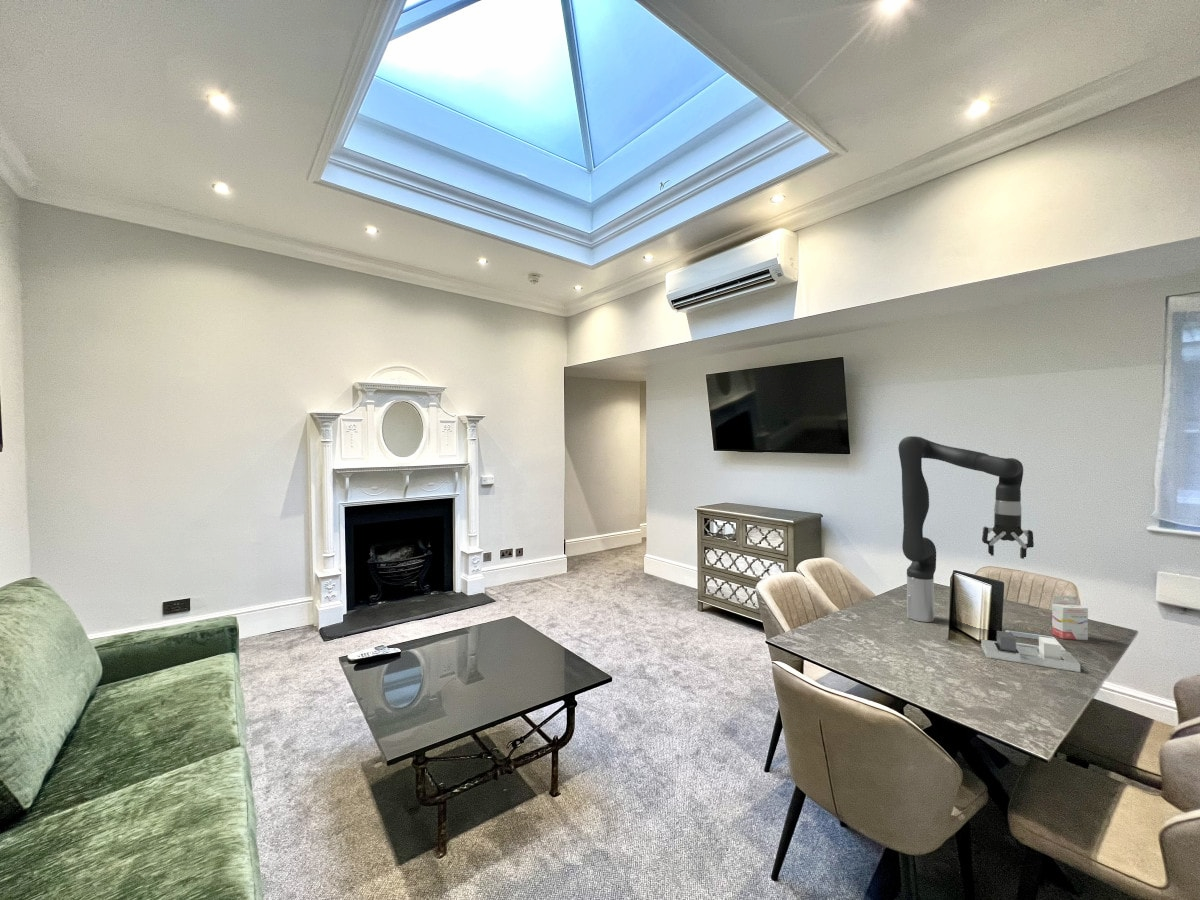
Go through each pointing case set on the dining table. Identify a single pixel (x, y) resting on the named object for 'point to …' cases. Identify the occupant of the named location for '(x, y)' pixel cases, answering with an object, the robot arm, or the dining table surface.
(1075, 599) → the ink cartridge box
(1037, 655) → the grey fixture base
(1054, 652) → the plug
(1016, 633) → the tray
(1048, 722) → the dining table surface
